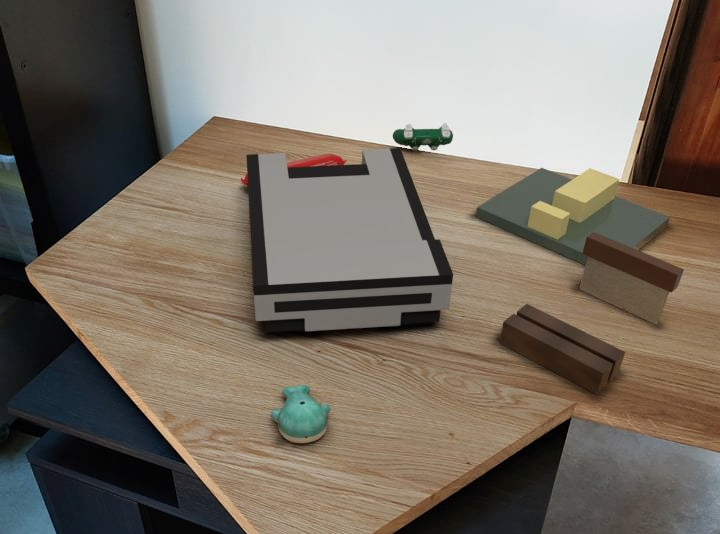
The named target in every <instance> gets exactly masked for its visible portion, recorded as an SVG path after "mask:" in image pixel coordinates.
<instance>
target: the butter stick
mask: <svg viewBox="0 0 720 534" xmlns="http://www.w3.org/2000/svg"><path fill="white" fill-rule="evenodd" d="M572 179H573V180H571V181H570V182H568V183H567V184H565V185H564V186H562V187H560V188H559V189H557V190H556V191H555V193H554V198H553V203H552V206H554V207H556V208H559V209H561V210H564V211H566V212H568V213H570V217H569V219H571V220H573V221H576V222H578V223H581V222H582V221H584V220H585V219H587V218H588V217H589V216H591V215H592V214H594V213H595V212H596V211H598V210H599V209H601V208H602V207H603V206H605V205H606V204H608V203H609V202H610V201H612V200H613V199H614V197H615V196H616V193H617V190H618V186H619V183H620V178H617V177H614V176H612V175H610V174H607V173H604V172H601V171H598V170H596V169H593V168H588V169H586V170H585V171H583V172H582V173H581V174H579V175H577V176H576V177H574V178H572Z"/></svg>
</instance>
